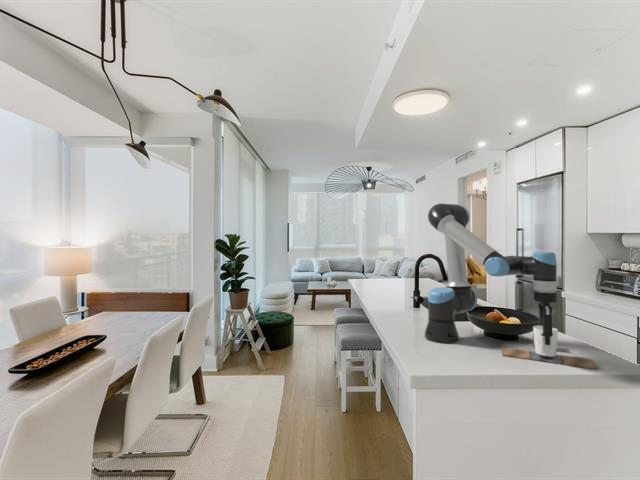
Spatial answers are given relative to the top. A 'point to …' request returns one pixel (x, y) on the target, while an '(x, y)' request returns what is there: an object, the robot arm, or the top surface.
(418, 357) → the top surface
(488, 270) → the robot arm
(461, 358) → the top surface
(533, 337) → the die
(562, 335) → the top surface
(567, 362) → the board
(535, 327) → the white cup
